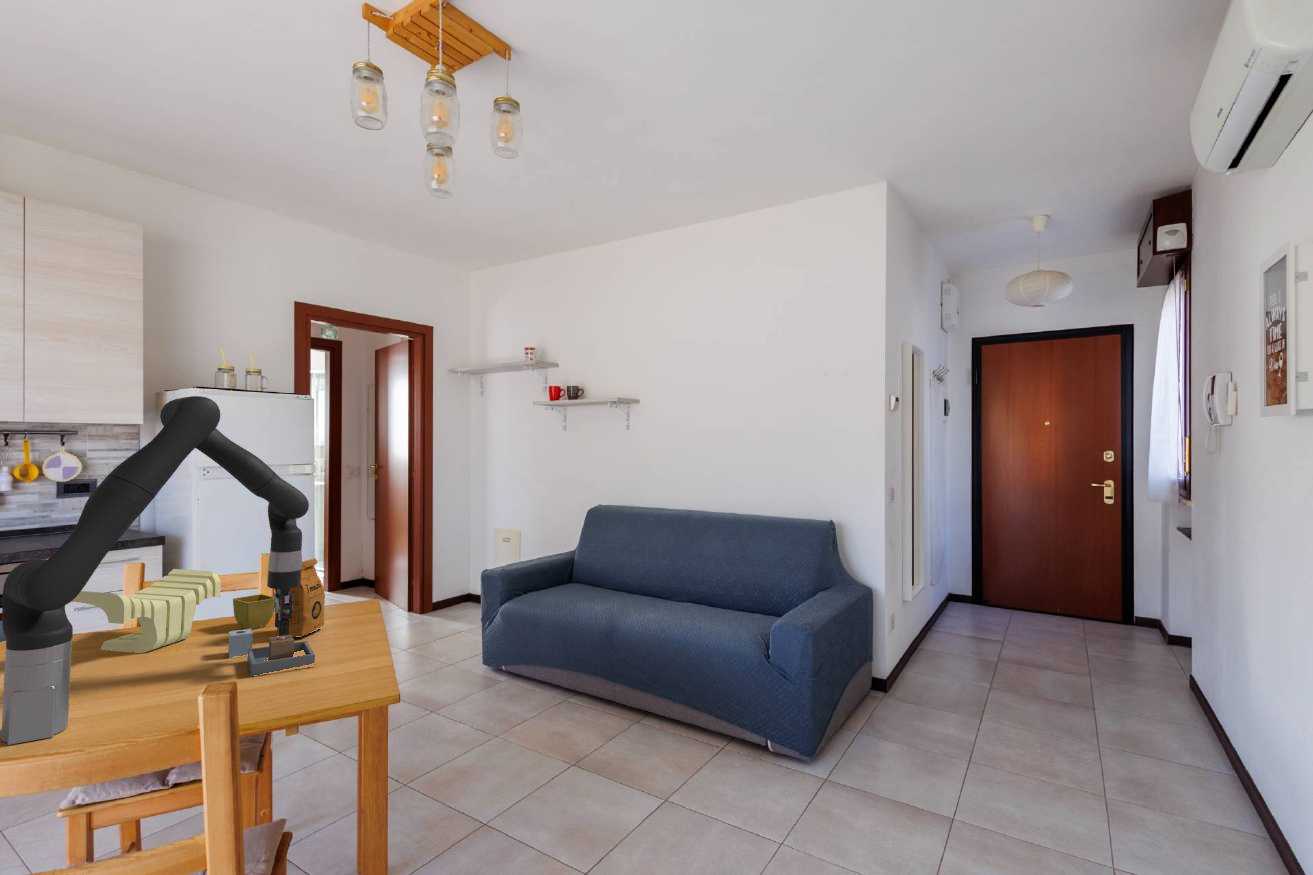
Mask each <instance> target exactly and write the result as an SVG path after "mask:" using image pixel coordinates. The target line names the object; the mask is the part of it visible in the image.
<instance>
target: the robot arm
mask: <svg viewBox="0 0 1313 875" xmlns="http://www.w3.org/2000/svg"><path fill="white" fill-rule="evenodd" d="M159 418H160V422H161V424H162V426H163V427H162V428H161V429H160V431H158V433H157V434H156V435H155V436H154V437H153V439H151V440H150V441H149V442H148V443H147V444H146V445H144V446H142V447H141V448H140V449H138V450H137V451H136V452H134V453H133V454H131V455H130V456H129V457H127V458H126V459H125V460H124V461H122V462H120V464H118V465H117V466H116V467H115V468H114V469H113V470H111V471H110V473H108V475H106V477H105V478H103V480H102V481H101V482H100V483H99V485H97V487H96V488H95V489H94V490H93V491H92V493H90V496H89V497H88V499H87V500H86V502H85V503H84V506H83V509H82V511H81V514H80V516H79V518H78V520H77V523H76V525H75V527H74V529H73V531H72V533H71V534H69V536H68V538H67V539H66V540H65V541H64V542H63V544H61V545H60V546H59V548H57V550H56V551H55V552H54V553H52V555H51V556H49V557H48V559H47V558H37V559H35V558H34V559H30V560H26V561H24V562H22V563H20V564H18V565H17V566H16V567H14V568H12V569H11V571H9V573H8V575H7V576H6V579H5V580H4V583H3V588H2V604H1V605H2V608H1V610H2V611H1V612H2V613H1V614H2V616H1V622H2V623H1V624H2V625H1V626H2V631H3V634H4V635H3V636H4V637H5V644H6V645H5V659H4V660H5V661H4V675H3V676H4V678H3V692H2V693H3V695H2V696H3V697H2V711H1V712H2V714H1V731H0V739H1V741H2V742H4V743H6V745H8V746H9V745H10V746H11V745H16V744H21V743H26V742H32V741H37V740H38V741H39V740H44V739H49V738H53V737H54V736H55V735H56V734H58V733H60V732H62V731H64V730H66V728H68V726H69V710H70V708H69V707H70V692H71V691H70V690H71V687H70V686H71V672H72V671H71V670H72V669H71V668H72V667H71V666H72V665H71V664H72V653H73V652H72V649H73V635H74V634H73V633H74V632H73V631H74V628H73V625H72V623H71V621H70V620H69V618H68V615H67V614H66V606H67V605H68V604H70V603H72V602H71V601H72V600H73V599H75V598H76V597H77V596H78V594H79V593H80V592H81V591H83V589H84V588H85V587H86V585H87V583H88V582H89V581H90V579H91V578H92V576H93V575H94V573H95V572H96V570H97V568H99V567H98V566H100V564H101V562H102V561H103V559H104V558H105V557H106V556H107V555H108V553H109V551H111V549H112V548H113V547H114V546H115V545H116V543H117V542H118V541H119V540H120V539H121V537H122V536H123V535H124V534H125V533H126V532H127V530H129V528H130V526H132V525H133V523H134V522H135V521H136V520H137V518H138V517H139V516H140V515H141V514H143V512H144V510H146V509H147V507H148V506H149V505H150V504H151V502H152V501H153V500H154V499H155V497H156V496H157V495H158V494H159V492H160V491H161V490H162V488H163V487H164V486H165V485H166V483H167V482H168V481H169V480H170V479H171V477H173V475H174V474H175V472H176V471H177V470H178V468H179V467H180V466H181V465H182V463H183V462H184V460H186V458H187V457H188V456H189V455H190V454H191V453H192V452H193V451H194V450H195V449H197V450H198V451H199V452H201V454H204V455H205V456H207V457H208V458H209V459H210V460H212V461H213V462H214V463H216V464H218V466H220V467H221V468H223V469H224V470H225V471H226V472H228V473H229V474H230V475H231V477H233V478H234V479H235V480H236V481H237V482H239V483H240V484H241V485H243V486H244V487H245V489H247V490H248V491H249V492H250V493H251V494H253V495H255V497H258V498H261V499H263V500H265V501H266V502H267V503H268V505H267V515H268V516H267V517H268V523H269V528H270V533H271V537H270V552H269V557H268V565H267V567H268V568H267V580H266V581H267V583H266V584H267V585H266V586H267V588H269V589H272V590H273V589H274V593H273V597H274V613H275V614H274V627H275V628H276V629H277V628H278V627H279V632H278V634H279V635H280V636H281V635H287V634H288V633H289V620H290V619H291V617H292V600H293V594H292V592H290V589H291V588H292V587H297V586H299V585H300V584H301V569H302V562H303V554H302V552H303V551H302V548H303V547H302V546H303V533H302V529H300V528H299V527H298V525H297V520H298V519H301V518H303V517H304V516H305V515H306V514H307V513H308V511H309V508H310V504H309V500H308V498H307V496H306V495H305V494H304V493H303V492H302V491H300V489H298V488H297V487H295V486H293V484H291V483H289V482H288V481H286V480H285V479H284V478H281V477H280V476H279V475H278V474H277V473H276V471H274V470H273V469H272V468H271V467H270V466H269V465H268V464H267V463H265V461H263V460H262V459H261V458H259V457H258V456H257V455H255V454H253V453H252V452H250V451H249V450H247V449H245V448H244V447H242V446H241V445H239V444H237V443H235V442H234V441H232V440H231V439H229V438H228V437H227V436H225V434H223V433H222V432H221V431H220V430H219V429H218V428H217V427H218V425H219V423H220V421H221V409H220V407H219V405H218V404H217V403H216V401H215V400H213V399H212V398H209V397H206V396H203V395H201V396H199V395H196V396H194V395H190V396H185V397H178V398H175V399H172V400H170V401H168V402H167V403H166V404H164V405H163V406H162V408H161V410H160V414H159ZM285 612H287V613H288V614H285Z"/></svg>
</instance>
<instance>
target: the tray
mask: <svg viewBox="0 0 1313 875" xmlns="http://www.w3.org/2000/svg"><path fill="white" fill-rule="evenodd" d="M301 650H304V652H305V654H306V655H303V656H297V657H290V658H283V659H277V660H270V661H267V660H268V659H267V658H268V657H269V645H268V646H267V645H266V646H260V647H252V648H251V649H248V656H247V658H246V659H247V660H248V662H247V665H248V664H249V666H248V668H250V669H249V672H251V673H250V676H251V675H252V676H254V675H260V674H263V673H269V672H274V671H280V670H283V669H289V668H293V667H300V666H303V665H309V664H312V663H315V659H316V654H315V652H314V650H313V649H312V647H311V646H310V643H309V642H308V640H304V641H303V640H302V641H297V642H295V641H294V652H297V651H301ZM264 660H265V661H264Z"/></svg>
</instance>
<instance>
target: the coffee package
mask: <svg viewBox="0 0 1313 875" xmlns="http://www.w3.org/2000/svg"><path fill="white" fill-rule="evenodd" d="M317 564H318V560H317V558H311V559H308V560H304V561H303V560H302V569H301V584H300V585H299V586H297V587H292V588H291V589H290V592H292V594H293V600H292V617H291V619H290V620H289V633H288V634H287V635H292V637H296V636H304V635H306V634H308V635H310V634H309V633H310V632H312V631H314V630H316V629H317V628H320V627H321V626H323V625H324V626H325V605H326V604H325V603H326V592H325V587H324V585H323V583H322V580H321V579H320V577H319V576H318V573H317V569H316V567H315V565H317ZM285 614H288V613H287V612H285ZM324 626H323V627H324ZM278 632H279V627H278V628H276V637H277V636H280V635H279V634H278ZM287 635H281V636H287ZM306 636H307V635H306ZM304 637H305V636H304Z"/></svg>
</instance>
